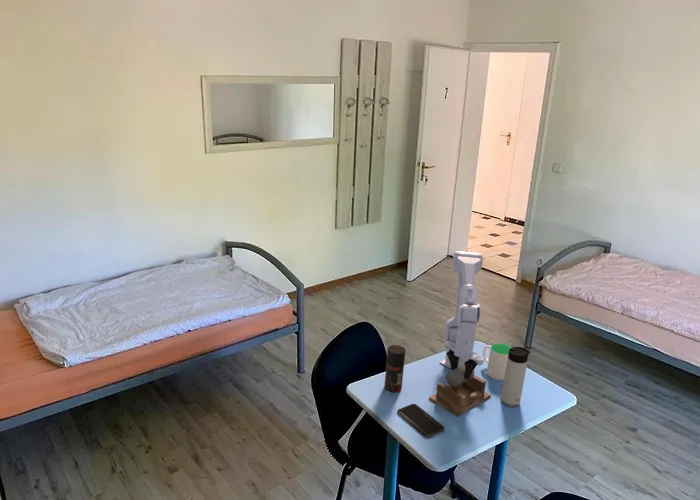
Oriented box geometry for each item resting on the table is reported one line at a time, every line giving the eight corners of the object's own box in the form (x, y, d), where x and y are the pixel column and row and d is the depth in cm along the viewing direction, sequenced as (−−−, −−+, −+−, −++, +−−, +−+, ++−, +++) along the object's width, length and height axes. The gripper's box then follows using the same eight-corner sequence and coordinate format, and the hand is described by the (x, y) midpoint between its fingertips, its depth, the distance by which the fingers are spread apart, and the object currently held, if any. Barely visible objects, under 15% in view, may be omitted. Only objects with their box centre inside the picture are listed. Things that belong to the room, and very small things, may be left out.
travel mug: (521, 409, 183) (531, 355, 176) (501, 405, 184) (509, 352, 178) (519, 398, 189) (529, 346, 182) (500, 395, 190) (508, 343, 183)
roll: (461, 373, 190) (463, 361, 188) (472, 380, 187) (475, 368, 185) (444, 381, 185) (446, 369, 183) (456, 389, 181) (458, 376, 179)
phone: (426, 436, 166) (396, 410, 178) (426, 439, 166) (395, 413, 178) (446, 428, 170) (414, 402, 182) (445, 431, 170) (414, 405, 182)
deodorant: (395, 394, 187) (399, 355, 182) (381, 388, 190) (384, 349, 185) (404, 387, 191) (408, 349, 186) (390, 381, 195) (393, 343, 190)
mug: (474, 366, 207) (477, 342, 203) (488, 361, 211) (492, 336, 208) (499, 382, 198) (503, 356, 194) (513, 376, 202) (518, 350, 199)
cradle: (462, 381, 197) (464, 366, 195) (490, 396, 189) (492, 381, 187) (429, 399, 186) (430, 383, 184) (457, 416, 177) (459, 400, 175)
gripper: (440, 333, 183) (436, 369, 188) (476, 351, 173) (470, 388, 177) (453, 327, 188) (449, 362, 192) (489, 344, 177) (483, 381, 182)
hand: (460, 374), depth 185 cm, fingers closed on roll, 5 cm apart
